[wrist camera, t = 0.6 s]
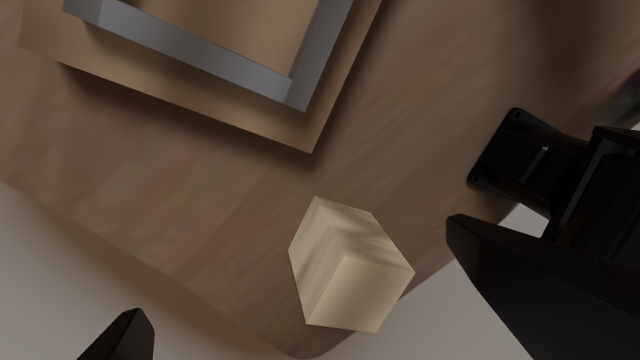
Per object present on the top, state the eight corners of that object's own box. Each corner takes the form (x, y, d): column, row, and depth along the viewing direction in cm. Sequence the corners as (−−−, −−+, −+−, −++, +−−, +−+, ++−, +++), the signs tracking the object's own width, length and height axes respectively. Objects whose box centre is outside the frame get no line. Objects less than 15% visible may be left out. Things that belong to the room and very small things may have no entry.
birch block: (370, 212, 25) (415, 272, 19) (342, 262, 26) (376, 333, 20) (314, 195, 23) (344, 255, 17) (287, 250, 24) (306, 323, 18)
